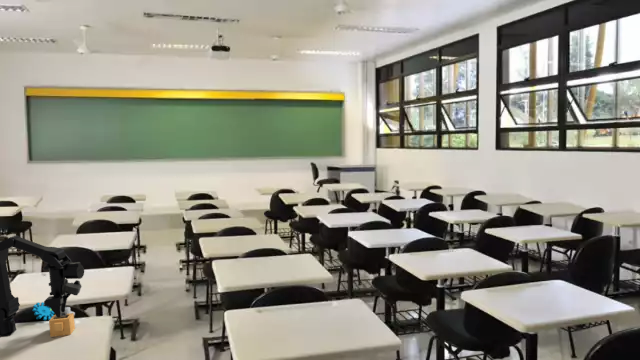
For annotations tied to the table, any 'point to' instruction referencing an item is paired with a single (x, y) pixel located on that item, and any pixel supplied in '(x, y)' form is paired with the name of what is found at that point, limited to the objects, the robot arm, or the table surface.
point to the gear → (43, 311)
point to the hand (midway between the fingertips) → (61, 314)
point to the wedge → (62, 316)
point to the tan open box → (62, 324)
